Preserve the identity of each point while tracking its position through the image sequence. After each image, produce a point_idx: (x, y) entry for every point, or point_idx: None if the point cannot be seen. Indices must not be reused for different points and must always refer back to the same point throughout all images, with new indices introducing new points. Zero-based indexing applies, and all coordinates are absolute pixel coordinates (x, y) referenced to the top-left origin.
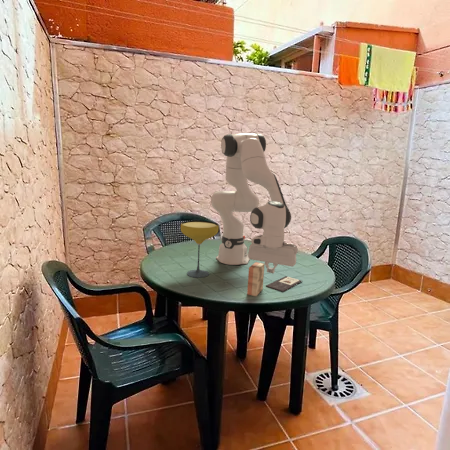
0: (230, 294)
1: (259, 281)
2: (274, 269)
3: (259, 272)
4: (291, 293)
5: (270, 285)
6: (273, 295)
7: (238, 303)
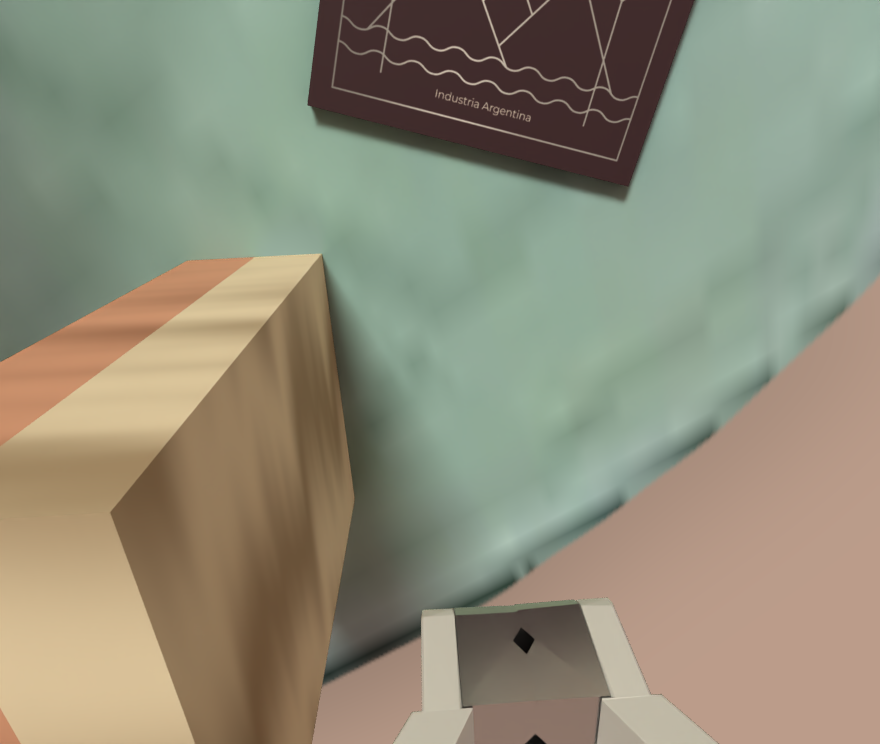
0: None
1: (314, 524)
2: (636, 682)
3: (279, 725)
4: (749, 160)
5: (373, 50)
6: (526, 371)
7: None
